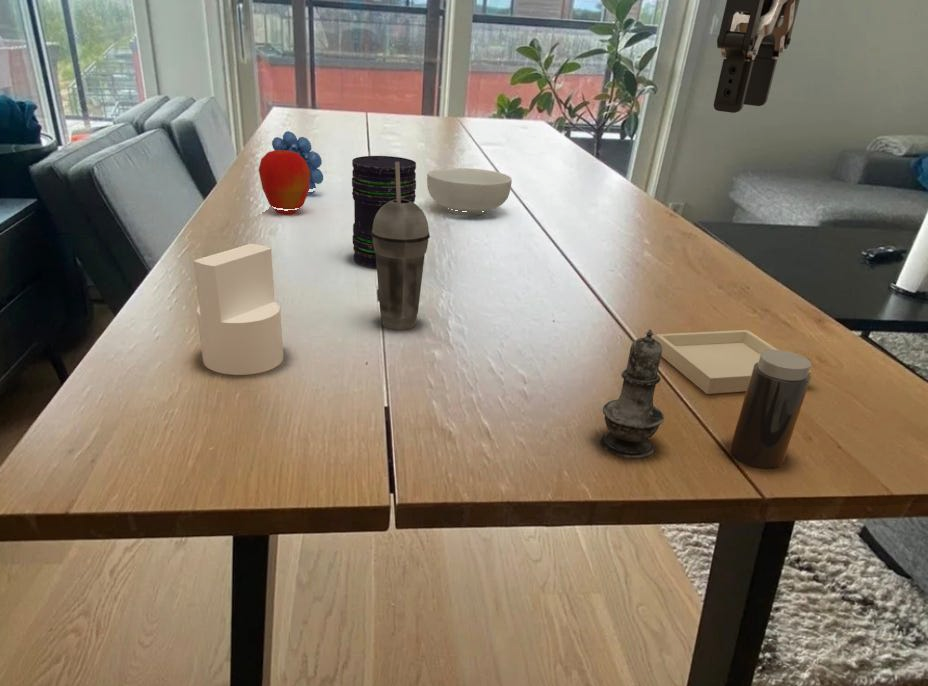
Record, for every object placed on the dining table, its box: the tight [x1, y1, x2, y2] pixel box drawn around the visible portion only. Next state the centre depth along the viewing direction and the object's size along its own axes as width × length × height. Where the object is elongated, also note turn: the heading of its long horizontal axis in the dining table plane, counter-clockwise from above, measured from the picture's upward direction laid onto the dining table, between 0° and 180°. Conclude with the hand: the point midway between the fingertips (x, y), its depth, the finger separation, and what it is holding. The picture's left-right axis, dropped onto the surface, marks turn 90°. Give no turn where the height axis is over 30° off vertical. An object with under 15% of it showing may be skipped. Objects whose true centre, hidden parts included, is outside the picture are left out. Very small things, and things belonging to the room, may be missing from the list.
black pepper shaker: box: [729, 349, 812, 469], centre depth 72 cm, size 5×5×10 cm
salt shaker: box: [599, 328, 665, 459], centre depth 72 cm, size 6×6×12 cm
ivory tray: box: [654, 329, 812, 395], centre depth 93 cm, size 13×13×2 cm
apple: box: [258, 146, 310, 216], centre depth 144 cm, size 9×9×12 cm
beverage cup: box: [371, 162, 431, 331], centre depth 95 cm, size 7×7×20 cm
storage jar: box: [351, 155, 417, 270], centre depth 120 cm, size 10×10×15 cm
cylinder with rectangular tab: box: [193, 243, 284, 376], centre depth 85 cm, size 9×9×12 cm
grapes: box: [271, 130, 324, 195], centre depth 156 cm, size 12×7×12 cm, turn 75°
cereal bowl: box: [426, 167, 513, 217], centre depth 153 cm, size 17×17×7 cm
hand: (740, 108), depth 66 cm, fingers open, 8 cm apart
